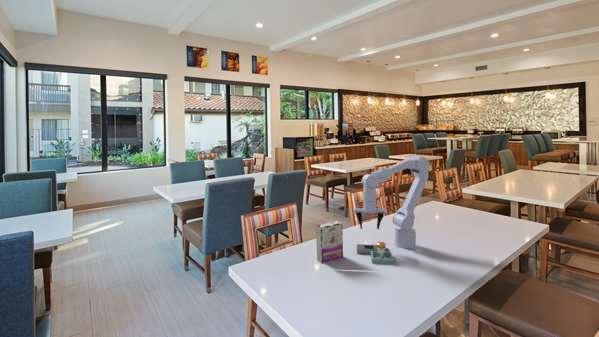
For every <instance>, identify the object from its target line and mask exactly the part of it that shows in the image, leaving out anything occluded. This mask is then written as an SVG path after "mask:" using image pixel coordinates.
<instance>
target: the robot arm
mask: <svg viewBox="0 0 599 337" xmlns="http://www.w3.org/2000/svg"><path fill="white" fill-rule="evenodd" d="M430 168H431V163H430V162H429V160H428V158H426V157H424V156H423V157H421V156H420V157H419V156H415V155H411V156H409V157H406V158H405V159H403V160H400V161H399V162H397V163H396V164H393V165H392V166H389V167H385V166H384V167H383V166H381V167H379V169H378V170H376V171H371V172H370V173H367V174H364V175H363V176H362V178H361V179H360V180H361V181H360V182H361V184H362V186H363V191H362V192H363V195H362V196H363V202H362V203H363V204H362V205H363V206H362V207H363V208H362V207H361V208H353V215H354V214H355V215H356V218H357V221H358V222H359V227H360V229H361V230H362V229H363V216H362V215H363V214H370V215H371V214H374V215H375V214H377V215H376V218H377V222H376V223H377V224H376V229H377V230H380V227H381V226H380V225H381V223H382V221H383V219H384V215H386V214H387V209H385V208H377V186H378V185H379V184H381V183H383V182H385V181H387V180H389V179H392V176H393V175H394V174H396V173H398V172H399V173H400V172H401V171H404V170H406V169H408V170H409V169H410V171H411V172H412V173H413V175H414V180H413V182H412V184H411V186H410V188H409V191H408V192H407V193H408V194H407V196H406V197H405V200H404V202H403V204H402V206H401V207H399V209H397V211H396V212H395V214H393V216H392V224H394V241H393V242H392V244H393V246H394V248H395V249H411V250H416V249H417V248H416V245H417V244H416V242H417V241H416V240H417V238H416V237H417V236H416V235H417V234H416V229H415V228H413V227H414V224H415V217H416V216H415V213H414V211H415V209H416V207H417V205H418V203H419V200H420V197H421V195H422V193H423V191H424V189H425V186H426V183H427V181H428V179H429V170H430Z"/></svg>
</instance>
